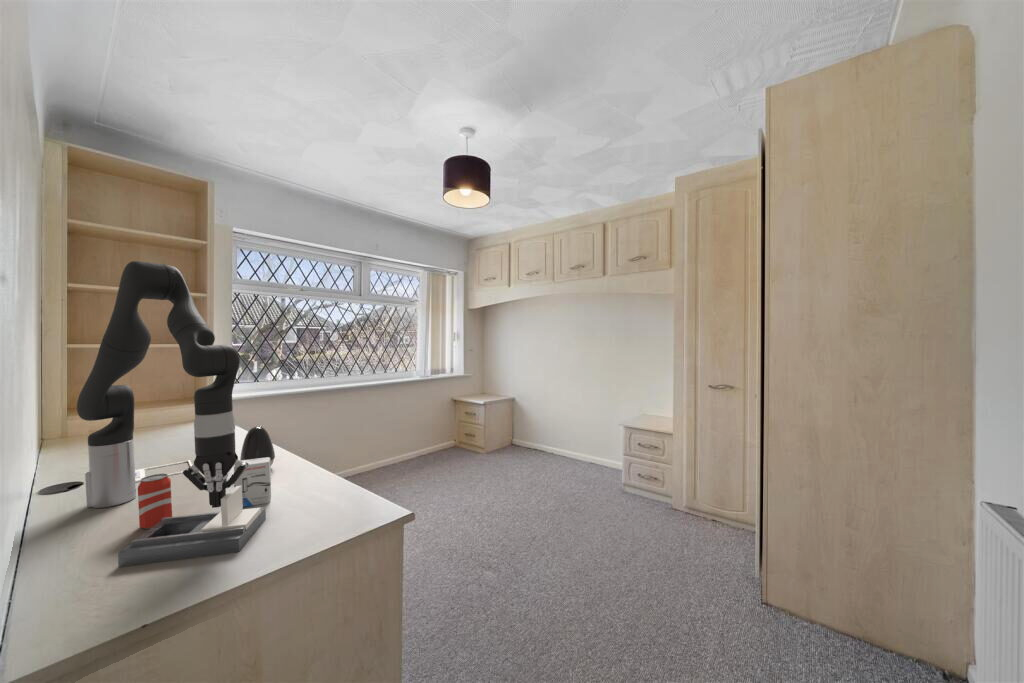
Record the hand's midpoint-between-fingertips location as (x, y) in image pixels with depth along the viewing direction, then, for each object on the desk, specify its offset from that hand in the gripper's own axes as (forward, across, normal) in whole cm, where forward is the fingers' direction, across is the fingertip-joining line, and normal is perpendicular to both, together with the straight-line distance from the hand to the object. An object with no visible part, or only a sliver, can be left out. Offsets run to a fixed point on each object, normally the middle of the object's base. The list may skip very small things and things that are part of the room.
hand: (218, 506), depth 94 cm
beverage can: (+8, -19, +12) cm, 24 cm away
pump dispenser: (+8, -9, +50) cm, 52 cm away
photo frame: (+8, -42, +58) cm, 72 cm away
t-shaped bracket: (+4, +3, 0) cm, 5 cm away
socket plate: (+8, -4, 0) cm, 9 cm away
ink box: (+8, 0, +20) cm, 22 cm away
